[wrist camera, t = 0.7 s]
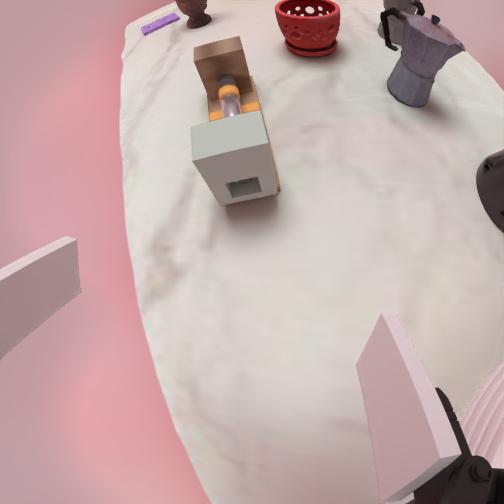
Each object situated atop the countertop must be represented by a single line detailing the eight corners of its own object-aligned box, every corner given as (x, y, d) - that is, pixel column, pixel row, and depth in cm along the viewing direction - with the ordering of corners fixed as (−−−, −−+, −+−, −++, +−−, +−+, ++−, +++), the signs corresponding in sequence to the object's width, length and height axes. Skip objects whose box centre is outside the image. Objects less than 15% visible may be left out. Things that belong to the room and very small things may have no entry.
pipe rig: (253, 81, 47) (242, 35, 36) (280, 190, 40) (272, 142, 29) (208, 91, 48) (190, 48, 37) (220, 203, 41) (193, 161, 30)
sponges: (142, 31, 65) (140, 27, 64) (176, 15, 65) (174, 11, 63) (145, 37, 63) (143, 33, 61) (180, 20, 63) (179, 16, 61)
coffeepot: (366, 25, 49) (370, -28, 32) (394, 25, 49) (401, -24, 31) (398, 54, 45) (409, -6, 28) (426, 55, 44) (441, 1, 27)
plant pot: (295, 30, 51) (291, -8, 40) (346, 43, 48) (348, 2, 36) (270, 53, 49) (262, 10, 38) (326, 68, 46) (327, 21, 34)
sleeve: (271, 164, 39) (260, 109, 28) (277, 193, 37) (268, 142, 26) (217, 176, 40) (190, 126, 29) (220, 205, 38) (192, 160, 27)
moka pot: (437, 122, 39) (474, 44, 20) (364, 89, 43) (377, 2, 24) (440, 96, 40) (468, 24, 21) (374, 66, 44) (385, -10, 25)
